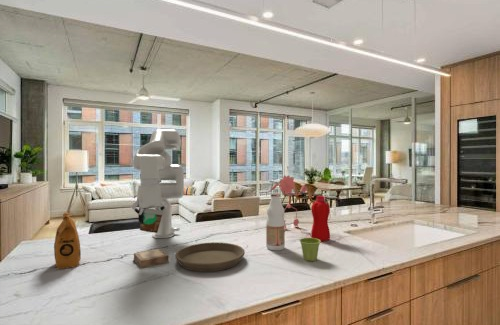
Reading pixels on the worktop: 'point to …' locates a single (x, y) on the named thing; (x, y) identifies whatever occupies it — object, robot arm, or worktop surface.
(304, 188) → the figurine
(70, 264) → the coffee package
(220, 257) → the plant saucer
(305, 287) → the worktop surface
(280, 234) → the fruit juice
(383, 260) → the worktop surface
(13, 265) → the worktop surface
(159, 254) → the base
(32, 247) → the worktop surface
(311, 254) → the plant pot
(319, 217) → the water bottle
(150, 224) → the food container
